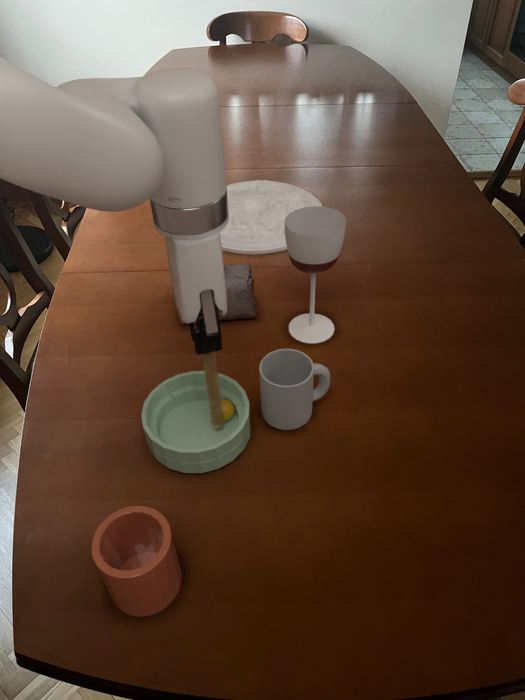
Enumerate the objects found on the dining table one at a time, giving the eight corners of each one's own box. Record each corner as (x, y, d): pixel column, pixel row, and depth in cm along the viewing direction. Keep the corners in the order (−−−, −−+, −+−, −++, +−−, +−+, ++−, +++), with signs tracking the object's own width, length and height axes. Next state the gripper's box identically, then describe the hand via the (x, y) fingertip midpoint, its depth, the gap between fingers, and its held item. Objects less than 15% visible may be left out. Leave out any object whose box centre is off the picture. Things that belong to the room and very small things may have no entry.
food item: (175, 330, 97) (167, 282, 91) (176, 300, 103) (168, 253, 96) (257, 323, 98) (255, 274, 91) (254, 294, 104) (251, 246, 97)
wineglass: (280, 316, 99) (279, 210, 85) (330, 309, 100) (337, 203, 86) (290, 347, 93) (291, 239, 80) (343, 340, 94) (353, 231, 81)
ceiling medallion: (352, 218, 121) (353, 204, 119) (245, 272, 109) (244, 257, 107) (265, 172, 137) (264, 159, 135) (163, 214, 125) (161, 200, 123)
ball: (213, 419, 79) (220, 397, 80) (207, 417, 82) (213, 396, 82) (233, 425, 80) (240, 403, 81) (227, 422, 83) (233, 402, 84)
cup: (254, 400, 85) (252, 355, 79) (319, 383, 87) (321, 339, 81) (270, 437, 80) (269, 393, 74) (338, 418, 82) (342, 374, 76)
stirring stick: (213, 430, 79) (197, 313, 66) (210, 421, 81) (194, 305, 67) (224, 427, 80) (211, 310, 67) (222, 419, 81) (208, 302, 68)
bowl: (156, 487, 75) (149, 464, 72) (141, 407, 85) (135, 383, 82) (263, 460, 78) (262, 436, 74) (236, 385, 88) (234, 361, 84)
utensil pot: (113, 626, 63) (94, 587, 56) (106, 558, 68) (88, 516, 62) (187, 604, 64) (177, 564, 58) (175, 539, 70) (164, 497, 64)
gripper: (142, 177, 63) (166, 311, 76) (164, 256, 52) (188, 398, 64) (210, 167, 64) (223, 300, 77) (246, 242, 53) (254, 383, 66)
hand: (207, 343), depth 71 cm, fingers closed on stirring stick, 1 cm apart
